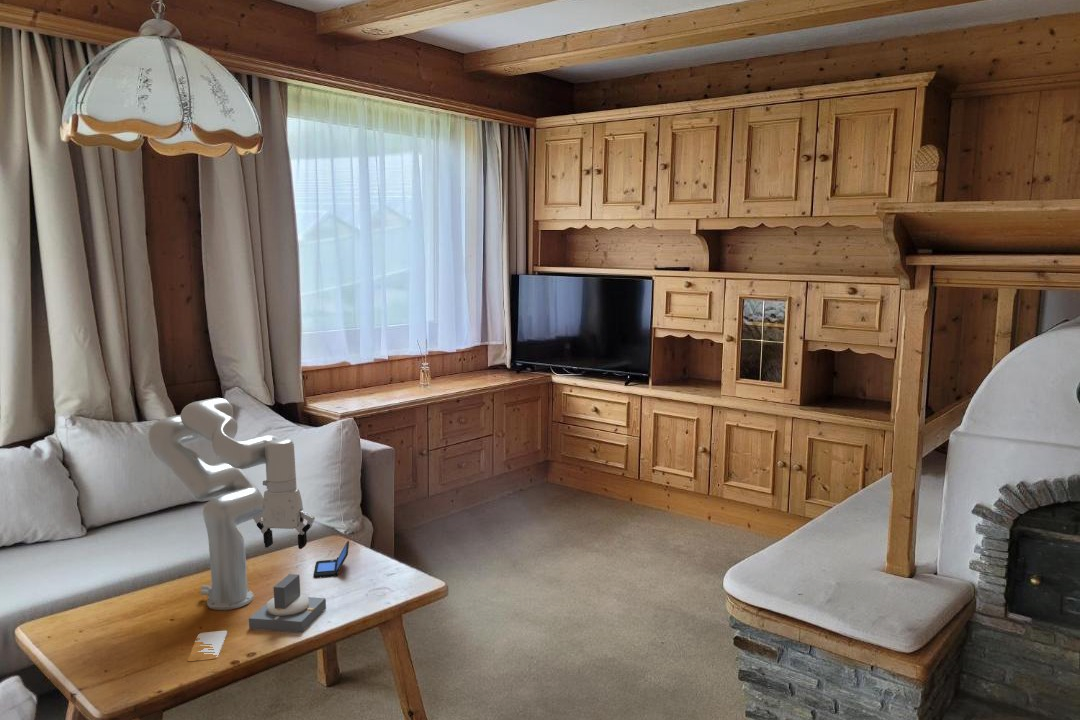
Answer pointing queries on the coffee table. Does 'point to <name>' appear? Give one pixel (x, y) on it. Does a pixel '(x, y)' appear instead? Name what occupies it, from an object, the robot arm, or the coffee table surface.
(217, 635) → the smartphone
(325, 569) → the handheld game console
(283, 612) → the dial
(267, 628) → the control plate
